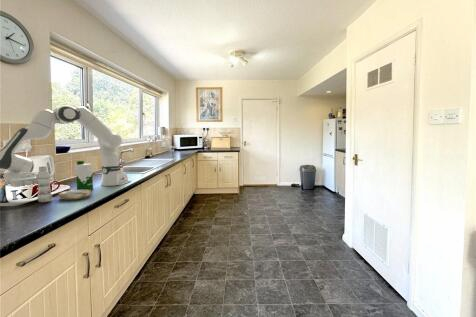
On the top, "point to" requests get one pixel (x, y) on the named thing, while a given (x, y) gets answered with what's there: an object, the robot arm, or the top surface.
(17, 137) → the robot arm
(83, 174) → the milk carton
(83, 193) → the disc
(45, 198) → the plastic bottle
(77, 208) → the top surface
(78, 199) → the turntable base
